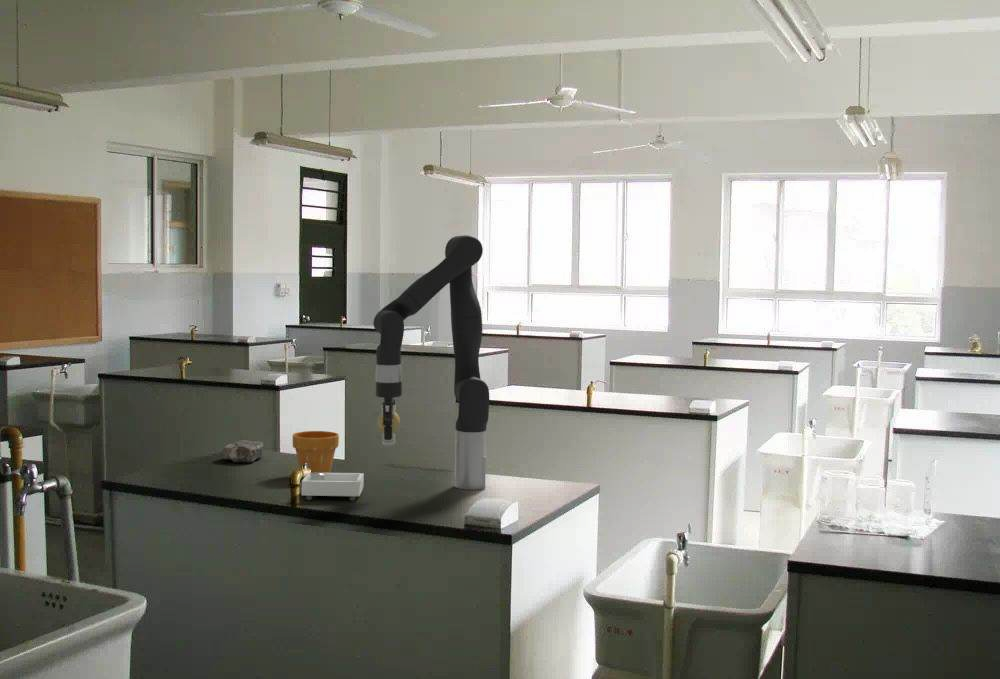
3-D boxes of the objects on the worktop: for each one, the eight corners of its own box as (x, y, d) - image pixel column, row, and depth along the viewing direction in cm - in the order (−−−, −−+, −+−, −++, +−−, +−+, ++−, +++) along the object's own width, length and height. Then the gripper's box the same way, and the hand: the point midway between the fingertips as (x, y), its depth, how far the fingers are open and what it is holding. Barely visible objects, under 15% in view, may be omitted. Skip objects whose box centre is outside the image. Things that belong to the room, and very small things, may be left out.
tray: (363, 492, 291) (363, 473, 291) (359, 501, 279) (359, 482, 279) (308, 491, 290) (308, 472, 290) (301, 500, 278) (301, 481, 278)
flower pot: (310, 469, 322) (310, 429, 321) (347, 474, 315) (347, 433, 315) (282, 477, 309) (283, 435, 308) (320, 482, 303) (320, 439, 302)
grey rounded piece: (325, 486, 286) (325, 472, 286) (323, 489, 282) (323, 475, 282) (311, 485, 286) (311, 472, 286) (309, 488, 282) (309, 474, 282)
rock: (239, 455, 344) (215, 464, 329) (238, 437, 343) (214, 445, 329) (272, 457, 340) (249, 466, 326) (271, 438, 340) (249, 446, 325)
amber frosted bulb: (396, 447, 286) (396, 412, 285) (374, 446, 287) (374, 411, 286) (402, 443, 292) (402, 409, 291) (381, 442, 293) (381, 408, 292)
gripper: (400, 382, 281) (400, 442, 282) (403, 377, 295) (403, 433, 297) (373, 382, 281) (373, 442, 282) (377, 377, 295) (377, 433, 296)
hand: (388, 437), depth 289 cm, fingers closed on amber frosted bulb, 6 cm apart
